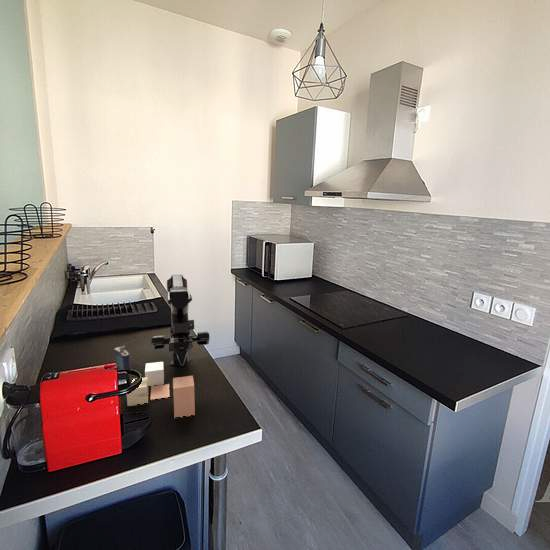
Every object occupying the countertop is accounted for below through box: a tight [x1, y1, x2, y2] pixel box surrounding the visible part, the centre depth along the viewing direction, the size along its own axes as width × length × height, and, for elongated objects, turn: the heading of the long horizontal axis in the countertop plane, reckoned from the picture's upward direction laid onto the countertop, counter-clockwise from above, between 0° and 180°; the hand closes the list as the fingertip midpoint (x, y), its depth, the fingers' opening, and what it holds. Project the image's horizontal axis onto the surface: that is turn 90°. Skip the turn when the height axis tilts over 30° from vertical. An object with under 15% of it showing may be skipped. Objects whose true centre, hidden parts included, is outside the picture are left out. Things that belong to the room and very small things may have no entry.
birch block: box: [126, 376, 150, 407], centre depth 107 cm, size 6×6×6 cm
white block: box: [144, 361, 165, 386], centre depth 118 cm, size 6×6×6 cm
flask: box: [113, 345, 131, 371], centre depth 122 cm, size 9×3×11 cm, turn 48°
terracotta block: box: [172, 375, 196, 419], centre depth 102 cm, size 6×6×10 cm
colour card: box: [149, 383, 171, 401], centre depth 112 cm, size 8×6×1 cm
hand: (182, 365), depth 109 cm, fingers closed
